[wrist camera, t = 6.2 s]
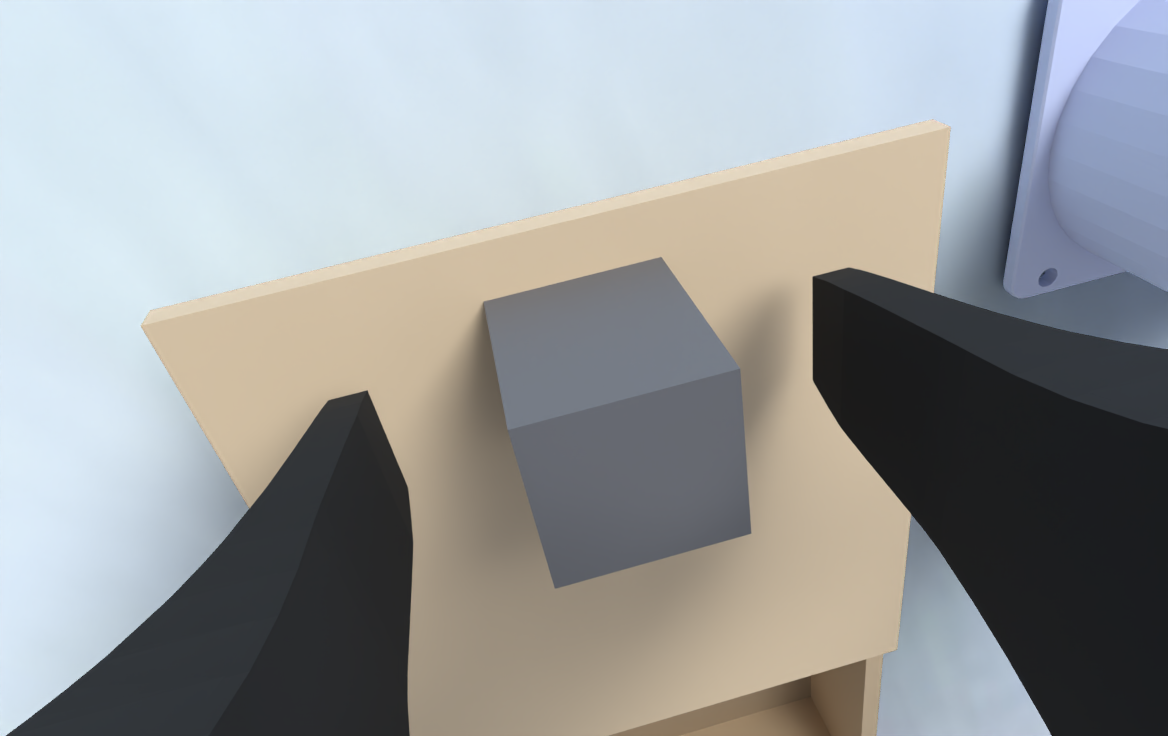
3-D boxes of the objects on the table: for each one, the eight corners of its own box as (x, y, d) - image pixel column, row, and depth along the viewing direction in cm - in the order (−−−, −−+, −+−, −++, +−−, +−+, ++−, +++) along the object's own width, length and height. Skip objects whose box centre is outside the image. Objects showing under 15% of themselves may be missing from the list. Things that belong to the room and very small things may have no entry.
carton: (818, 399, 21) (896, 495, 17) (817, 688, 29) (871, 792, 25) (358, 523, 20) (348, 649, 17) (486, 787, 28) (497, 908, 24)
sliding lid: (932, 119, 12) (1123, 199, 9) (887, 634, 20) (981, 779, 17) (150, 310, 12) (45, 476, 8) (417, 773, 19) (419, 953, 16)
